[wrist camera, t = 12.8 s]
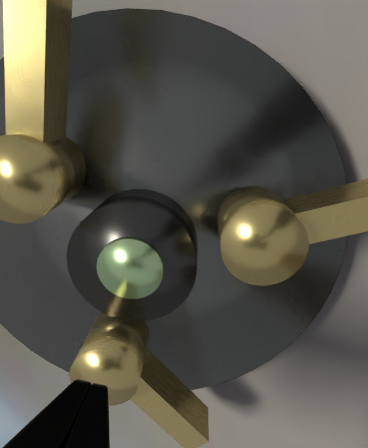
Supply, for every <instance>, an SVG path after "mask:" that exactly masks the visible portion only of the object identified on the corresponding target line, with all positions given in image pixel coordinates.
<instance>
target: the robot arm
mask: <svg viewBox="0 0 368 448" xmlns="http://www.w3.org/2000/svg"><path fill="white" fill-rule="evenodd" d="M3 448H110V444H109V407H108V387H107V386H106V385H101V384H97V383H93V384H92V385H91V382H89V381H84V380H80V379H77V380H75V381H73V382H72V383H71V384H70V385H69V386H68V387H67V388H66V389H65V390H64V391H63V392H61V393H60V394H59V395H58V396H57V397H56V398H55V399H54V400H53V401H52V402H51V403H50V404H49V405H48V406H46V407H45V408H44V409H43V410H42V411H41V412H40V413H39V414H38V415H37V416H36V417H35V418H34V419H33V420H32V421H30V422H29V423H28V424H27V425H26V426H25V427H24V428H23V429H22V430H21V431H20V432H19V433H18V434H17V435H16V436H14V437H13V438H12V439H11V440H10V441H9V442H8V443H7V444H6V445H5V446H4V447H3Z"/></svg>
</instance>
